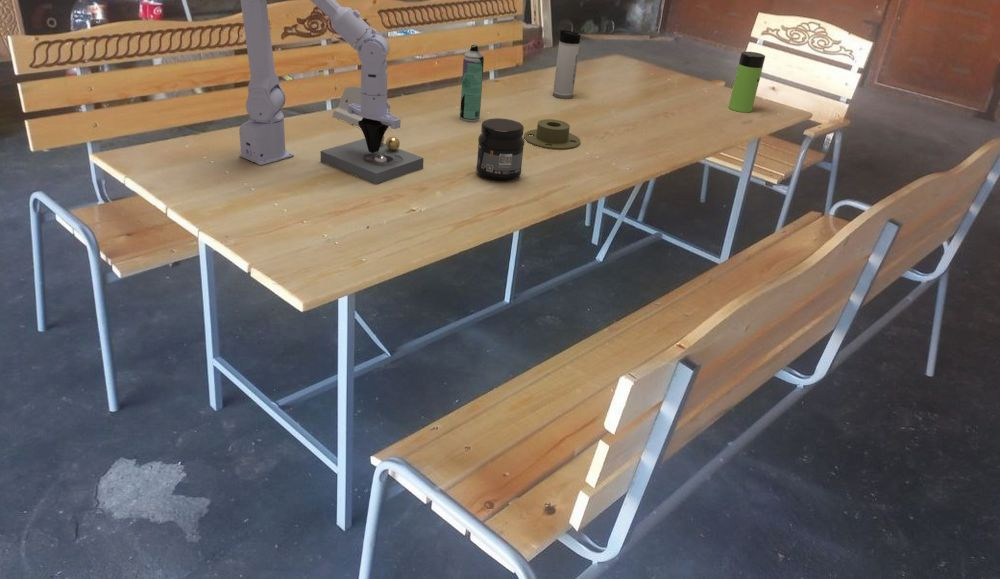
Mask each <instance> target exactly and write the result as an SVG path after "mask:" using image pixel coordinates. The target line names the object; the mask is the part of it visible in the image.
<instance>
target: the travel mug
mask: <svg viewBox="0 0 1000 579" xmlns="http://www.w3.org/2000/svg"><path fill="white" fill-rule="evenodd" d="M558 32H559V33H560V34H559V40H558V41H559V42H558V49H557V58H556V65H555V66H556V67H555V73H554V75H555V76H554V82H553V91H552V96H553V97H555V98H557V99H563V100H570V99H572V98H573V97H574V90H575V82H576V75H577V67H578V66H577V65H578V60H579V59H578V58H579V52H580V45H581V34H579V33H578V32H575V31H571V30H567V29H566V30H565V29H559V31H558Z"/></svg>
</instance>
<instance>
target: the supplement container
mask: <svg viewBox="0 0 1000 579" xmlns="http://www.w3.org/2000/svg"><path fill="white" fill-rule="evenodd" d="M524 129H525V128H524V125H523V124H522V123H520V122H519V121H518V120H517V121H516V120H515V119H513V120H512V119H509V118H499V117H498V118H496V117H495V118H489V119H488V118H487V119H485V120H483V121H482V122H481V129H480V132H481V133H480V134H479V135H478V138H477V139H478V140H477V141H478V145H477V146H478V147H477V159H476V160H477V162H476V167H475V168H476V172H477V174H478V175H479V176H480V177H481V178H483V179H485V180H488V181H492V182H500V183H501V182H503V183H504V182H512V181H514V180H517V179H518V178H520V176H521V174H522V167H523V166H522V165H523V164H522V162H523V156H524V148H525V147H524V146H525V142H526V141H525V140H524Z"/></svg>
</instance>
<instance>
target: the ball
mask: <svg viewBox="0 0 1000 579" xmlns="http://www.w3.org/2000/svg"><path fill="white" fill-rule="evenodd" d="M374 160H375V161H377V162H388V161H387V159H386V157H384V156H383V155H378V156H376V157H375V158H374Z"/></svg>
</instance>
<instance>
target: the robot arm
mask: <svg viewBox="0 0 1000 579" xmlns="http://www.w3.org/2000/svg"><path fill="white" fill-rule="evenodd" d="M309 1H311V3H313V4H314V5H315V7H317V8H318V9H319V10H321V12H323V13H324V14H325V15H326V16H327V17H328V18H329V19H330V23H331V24H330V25H331V29H333V31H335V33H337V34H338V35H339V36H340V37H341V38H342V39H343V40H344V41H345V42H346V43H347V44H348V45H349V46H350V47H351V48H353V50H355V51H357V55H358V56H357V57H358V59H359V60H360V62H361V70H360V87H361V105H359V104H355V103H354V104H350V105H348V113H350V114H353V113H354V114H356V115H359V116H362V117H363V119H362V120H360V121H358V125H359V126H360V128H361V129H360V128H359V129H360V130H361V131H362V134H363V137H364V139H366V143H367V147H368V151H369V152H371V153H375V152H378V151H379V148H380V145H381V141H382V138H383V136H384V137H385V133H386V132H387V130H388V128H389V127H390V128H391V129H393V130H396V129H401V118H398V117H397V116H395V115H393V114H392V113H391V112H389V109H387V101H388V60H387V57H388V55H389V54H390V53H389V52H390V44H389V41H388V40H387V38H386V37H385V35H384V34H382V33H380V32H378V30H376V28H374V27H373V28H372V27H371V26H370V25H369V24H368V23H366V21H365V20H364V19H363V18H361V16H360V15H361V13H360V12H359V10H358V9H355V10H353V8H351V7H350V6H341V5H340V3H338V1H336V0H309ZM240 6H241V14H242V20H243V21H242V22H243V28H244V36H245V44H246V45H245V46H246V51H247V56H248V57H247V58H248V66H249V72H250V78H249V81H248V85H247V93H248V97H247V99H246V101H245V109H246V113H247V114H248V115H249V117H250V118H249V119H248V120H247V121H244V122H243V123H241V124H240V126H239V142H240V153H239V154H238V155H239V157H241V158H243V159H245V160H248V161H250V162H252V163H254V162H255V163H254V164H257V165H258V166H259V165H260V166H262V165H264V166H265V165H266V164H270V163H274V162H277V161H281V160H284V159H289V158H293V157H294V156H295V153H293V152H290V151H288V150H286V135H285V120H284V119H285V118H284V113H283V112H282V108H283V107H284V106H285V104H286V99H287V98H286V94H285V91H284V89H283V88H282V86H281V83H280V78H279V76H278V75H277V74H276V70H275V68H276V67H275V64H274V63H275V62H274V54H273V45H272V44H273V42H272V36H271V30H270V29H271V28H270V19H269V11H268V4H267V0H240Z"/></svg>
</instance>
